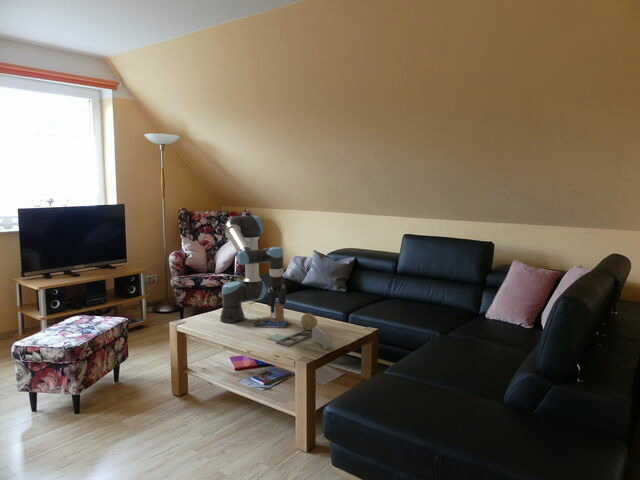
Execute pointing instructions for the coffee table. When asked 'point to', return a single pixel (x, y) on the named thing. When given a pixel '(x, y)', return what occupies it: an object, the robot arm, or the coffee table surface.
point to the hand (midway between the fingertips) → (277, 316)
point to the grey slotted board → (294, 338)
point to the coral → (308, 321)
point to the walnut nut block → (279, 313)
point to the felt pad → (277, 337)
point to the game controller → (321, 337)
